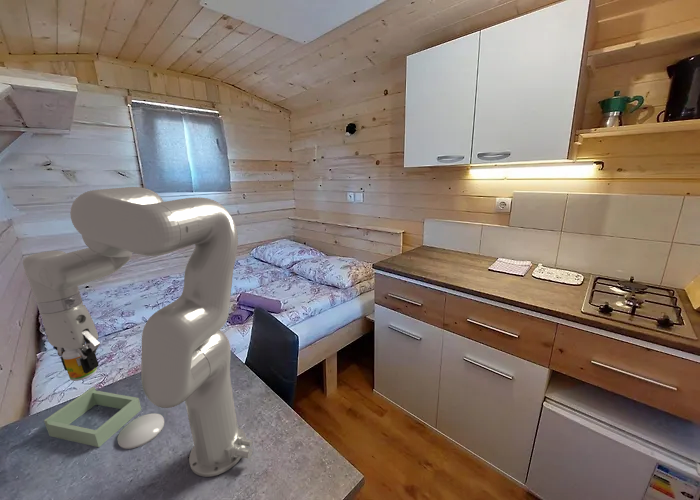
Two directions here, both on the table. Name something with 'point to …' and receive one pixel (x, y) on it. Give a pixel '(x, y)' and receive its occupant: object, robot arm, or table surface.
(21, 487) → the table surface
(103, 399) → the frame
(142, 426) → the saucer
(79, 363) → the supplement bottle
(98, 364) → the robot arm
